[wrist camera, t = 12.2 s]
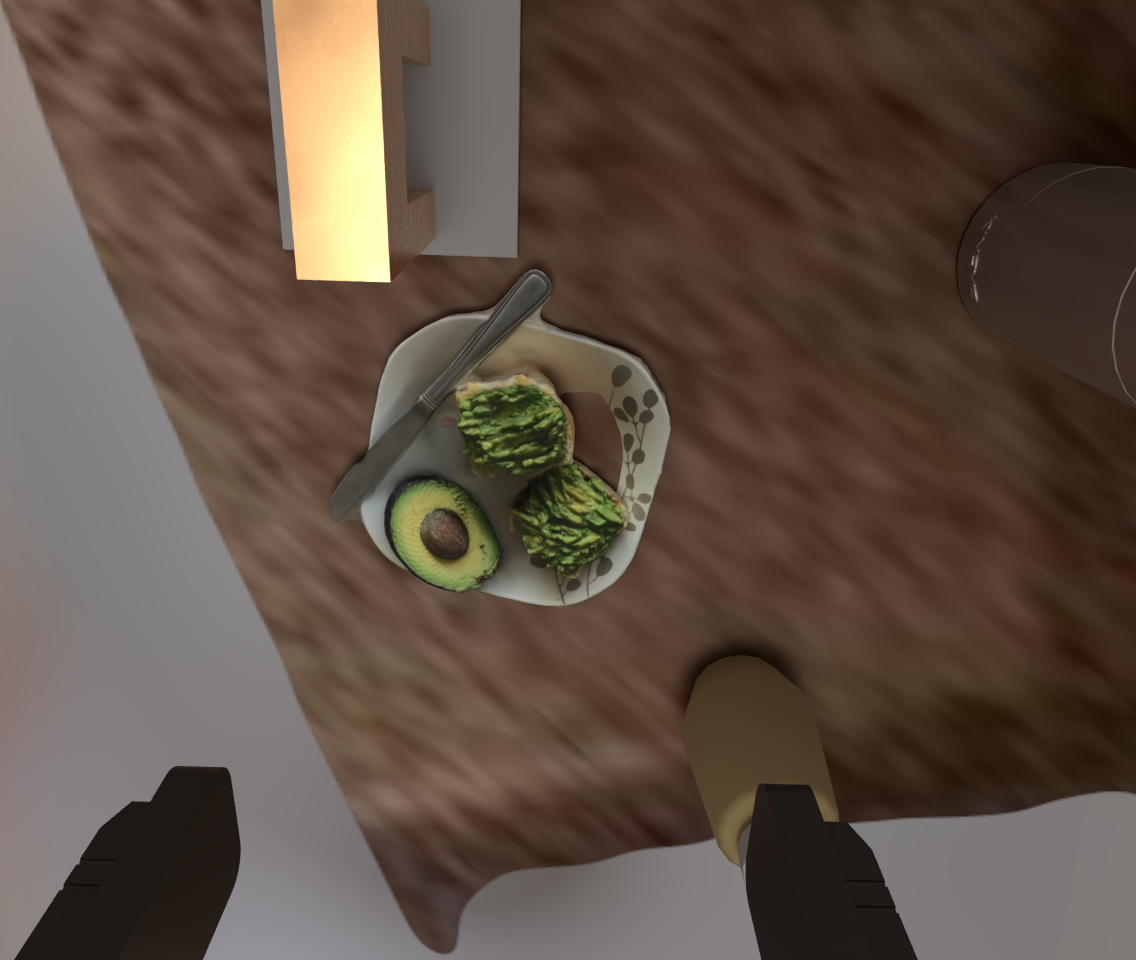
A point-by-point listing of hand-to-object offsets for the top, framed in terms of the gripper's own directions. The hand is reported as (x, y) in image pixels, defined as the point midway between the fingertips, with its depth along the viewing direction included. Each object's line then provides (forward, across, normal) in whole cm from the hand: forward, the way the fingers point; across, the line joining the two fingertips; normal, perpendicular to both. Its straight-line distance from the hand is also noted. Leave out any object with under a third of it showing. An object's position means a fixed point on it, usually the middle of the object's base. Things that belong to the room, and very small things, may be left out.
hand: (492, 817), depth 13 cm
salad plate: (+37, +2, +9) cm, 38 cm away
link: (+36, +7, -9) cm, 37 cm away
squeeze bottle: (+36, -13, +24) cm, 45 cm away
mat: (+36, +8, -9) cm, 38 cm away
